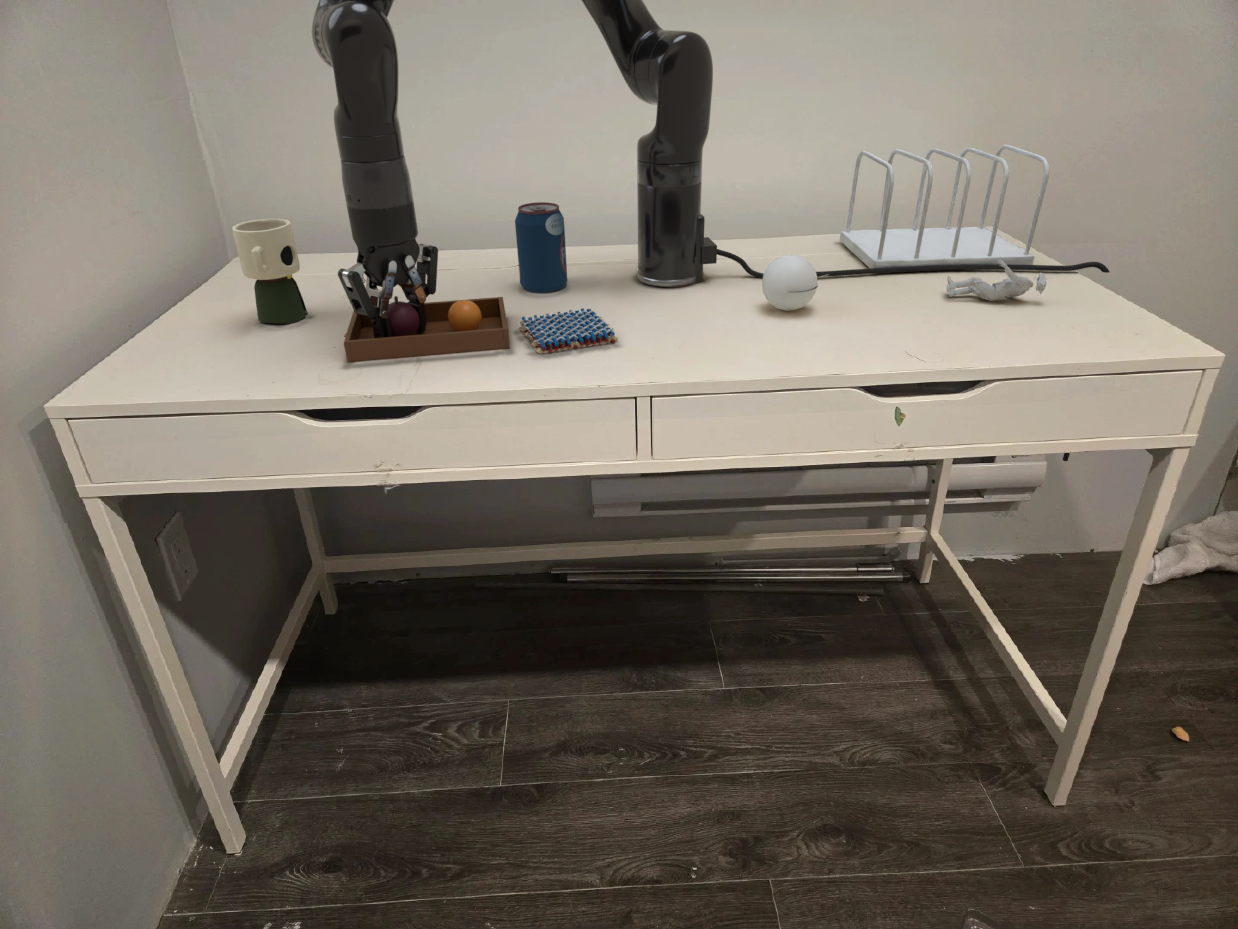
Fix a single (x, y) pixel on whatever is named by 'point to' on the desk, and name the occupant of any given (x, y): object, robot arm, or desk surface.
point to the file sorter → (940, 242)
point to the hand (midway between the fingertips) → (402, 336)
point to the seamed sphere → (789, 282)
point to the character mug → (271, 268)
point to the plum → (403, 318)
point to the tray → (430, 334)
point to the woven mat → (567, 331)
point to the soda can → (541, 247)
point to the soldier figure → (996, 286)
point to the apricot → (464, 316)
